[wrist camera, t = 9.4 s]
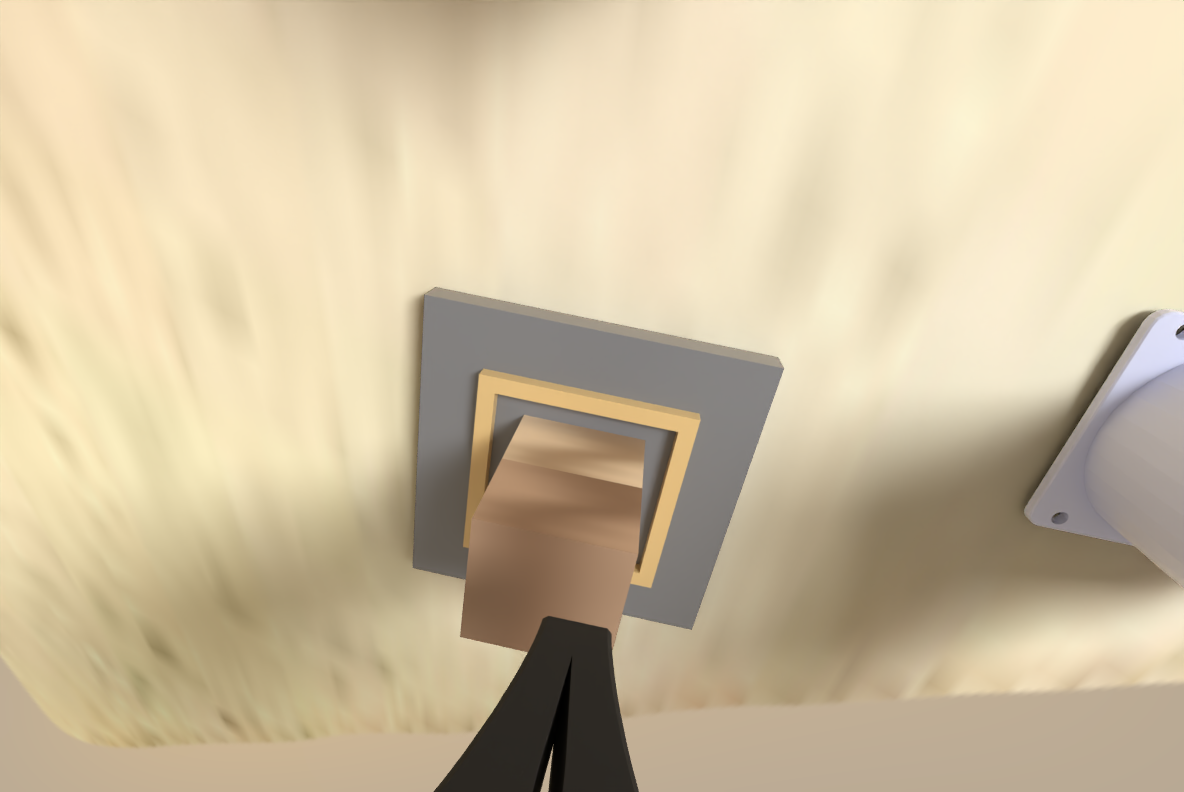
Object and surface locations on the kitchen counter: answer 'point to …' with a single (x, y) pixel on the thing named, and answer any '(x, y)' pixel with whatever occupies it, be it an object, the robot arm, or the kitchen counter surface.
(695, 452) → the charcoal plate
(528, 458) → the tan wooden block
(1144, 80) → the kitchen counter surface
